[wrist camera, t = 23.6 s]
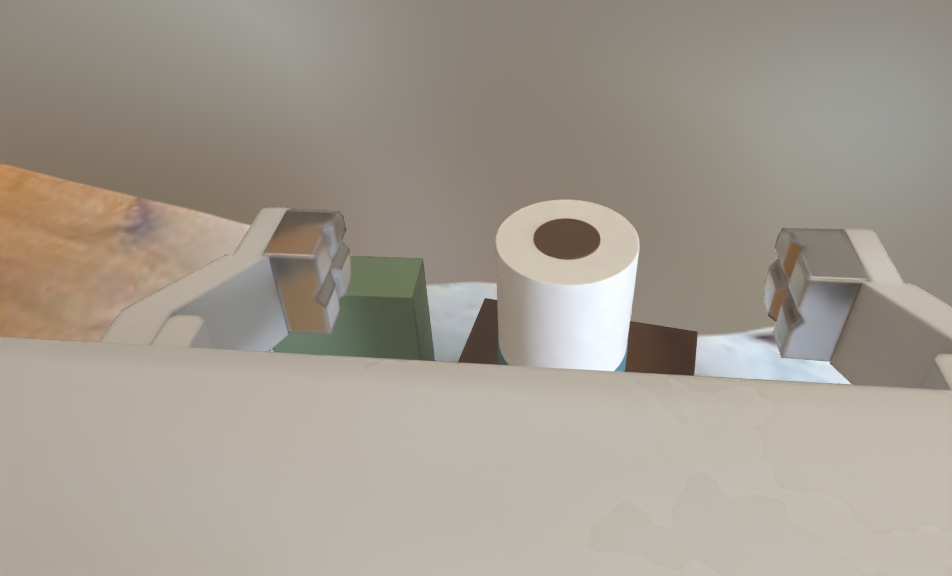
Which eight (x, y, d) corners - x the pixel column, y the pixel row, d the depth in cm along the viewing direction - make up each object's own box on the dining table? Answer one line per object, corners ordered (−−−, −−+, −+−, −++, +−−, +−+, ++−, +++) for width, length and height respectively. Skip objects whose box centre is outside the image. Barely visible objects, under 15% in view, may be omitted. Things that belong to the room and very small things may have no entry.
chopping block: (372, 637, 34) (359, 596, 31) (486, 342, 48) (484, 297, 46) (656, 719, 31) (668, 680, 28) (687, 377, 45) (697, 331, 42)
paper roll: (610, 479, 38) (638, 550, 25) (502, 473, 39) (476, 537, 26) (617, 234, 39) (648, 179, 26) (512, 231, 40) (492, 176, 27)
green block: (426, 398, 45) (412, 297, 39) (285, 390, 46) (254, 291, 40) (434, 357, 47) (423, 257, 42) (302, 350, 48) (273, 253, 43)
